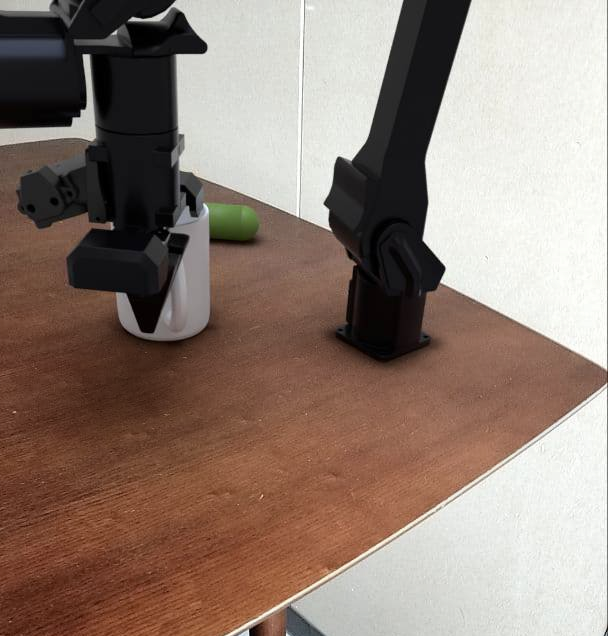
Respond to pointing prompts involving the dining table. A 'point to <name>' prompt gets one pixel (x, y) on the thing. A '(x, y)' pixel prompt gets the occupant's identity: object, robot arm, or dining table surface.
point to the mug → (181, 287)
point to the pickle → (232, 222)
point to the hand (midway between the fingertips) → (147, 331)
